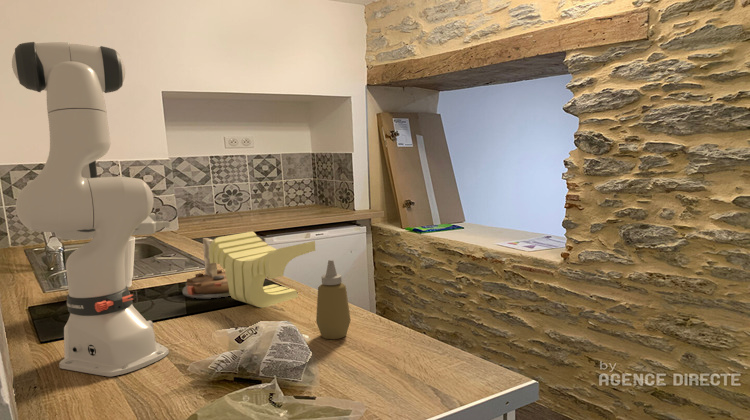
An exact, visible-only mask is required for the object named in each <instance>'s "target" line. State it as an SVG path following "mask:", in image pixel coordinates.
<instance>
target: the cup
mask: <svg viewBox="0 0 750 420" xmlns="http://www.w3.org/2000/svg"><path fill="white" fill-rule="evenodd" d="M135 244H136V237H135V236H131V237H130V238H129V241H128V243H127V246H126V250H125V258H124V268H125V284H126V286H127V287H128V288H130V287H132V283H133V282H132V279H133V278H134V263H135V246H136V245H135Z"/></svg>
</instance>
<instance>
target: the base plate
mask: <svg viewBox="0 0 750 420" xmlns="http://www.w3.org/2000/svg"><path fill="white" fill-rule="evenodd" d="M182 295H183V296H184V297H186V298H189V299H194V298H196V300H212V299H211V298H217V299H222V298H221V297H225V298H229V297H228V296H230V293H229V292H224V293H215V294H198V293H194V286H187V285H185V286H184V287H183V288H182Z"/></svg>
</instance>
